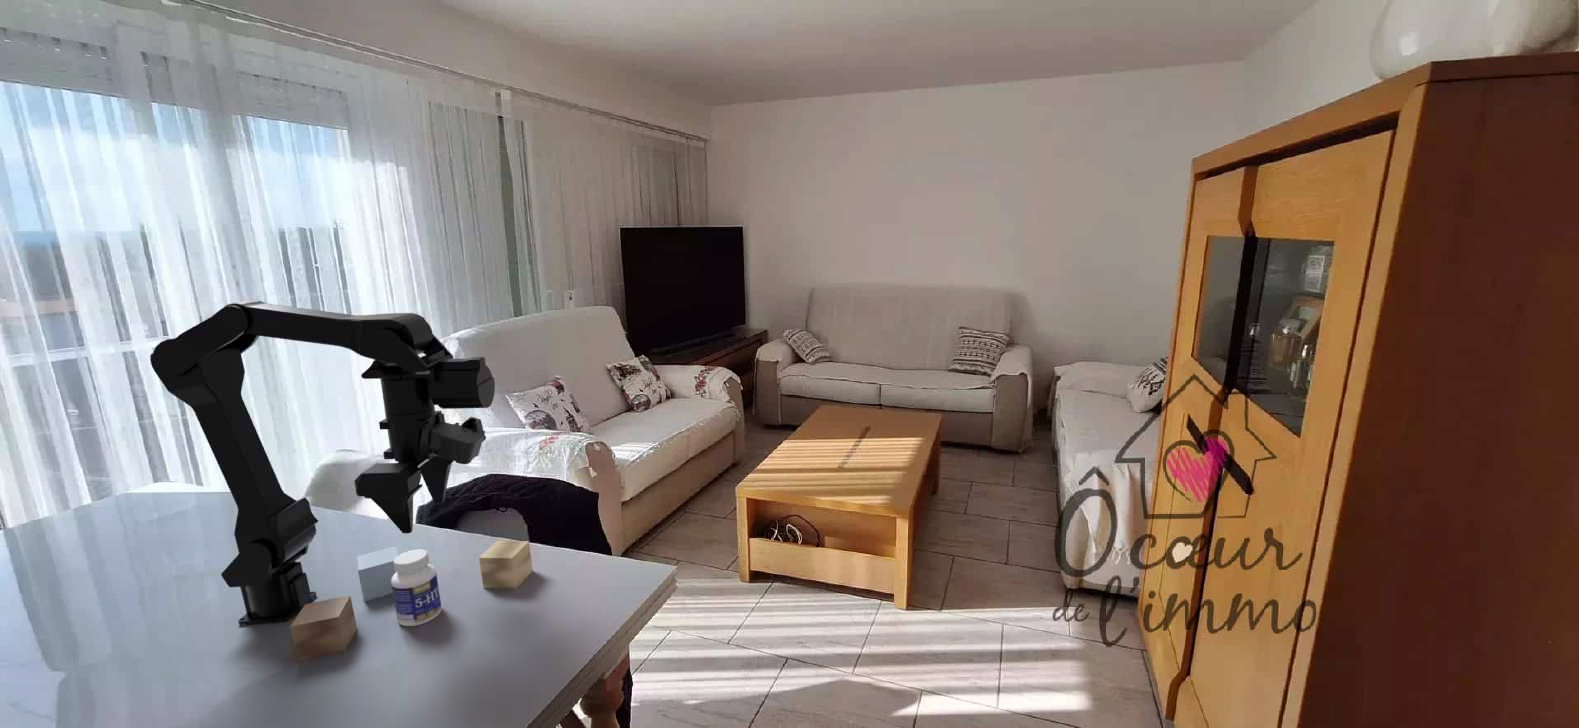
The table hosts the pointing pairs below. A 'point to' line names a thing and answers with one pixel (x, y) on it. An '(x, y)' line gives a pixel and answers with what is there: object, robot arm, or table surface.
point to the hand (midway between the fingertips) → (424, 517)
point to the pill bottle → (415, 588)
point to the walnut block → (324, 628)
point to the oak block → (506, 564)
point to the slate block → (377, 572)
